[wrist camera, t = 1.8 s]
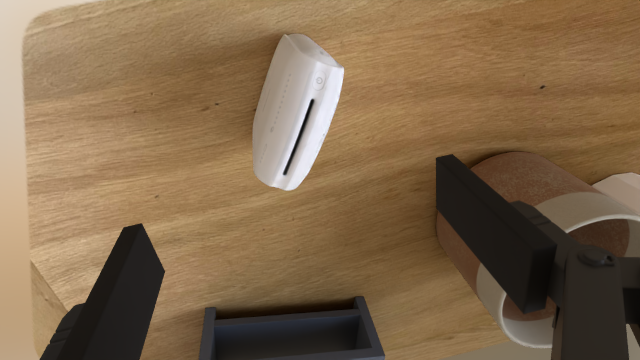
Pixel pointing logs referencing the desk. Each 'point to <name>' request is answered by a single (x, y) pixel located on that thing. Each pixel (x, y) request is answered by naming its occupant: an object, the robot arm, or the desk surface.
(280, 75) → the photo printer
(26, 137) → the desk surface
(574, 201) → the planter
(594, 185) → the container
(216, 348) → the shelf
